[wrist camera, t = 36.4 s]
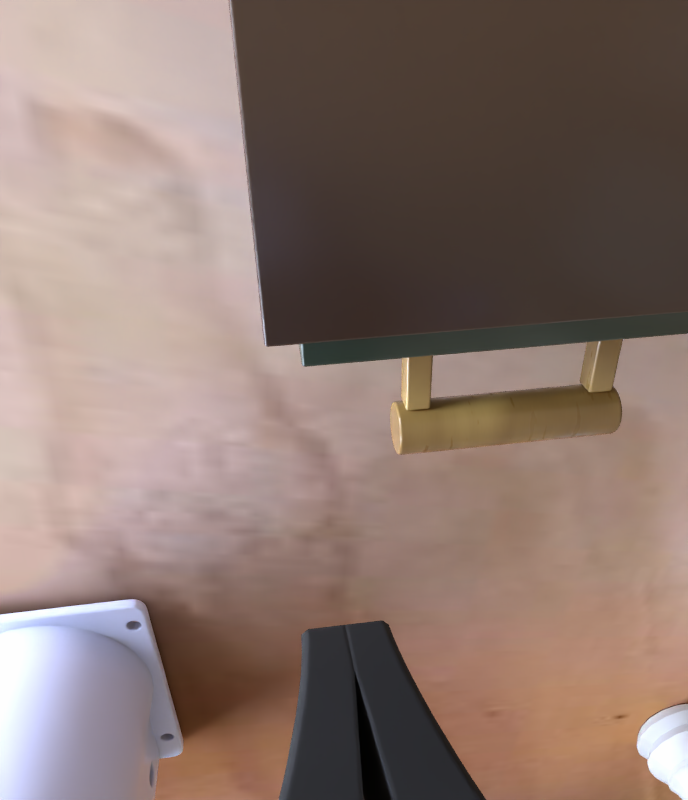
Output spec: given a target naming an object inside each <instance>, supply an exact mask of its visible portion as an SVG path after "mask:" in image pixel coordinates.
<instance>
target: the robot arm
mask: <svg viewBox="0 0 688 800" xmlns="http://www.w3.org/2000/svg"><path fill="white" fill-rule="evenodd" d="M133 621H138V622H133ZM301 640H302V664H301V679H300V688H299V696H298V704H297V711H296V718H295V723H294V729H293V734H292V739H291V745H290V750H289V756H288V761H287V766H286V771H285V775H284V780H283V784H282V788H281V792H280V796H279V800H486V799H485V797H484V796H483V794H482V793H481V791H480V790H479V788H478V787H477V785H476V784H475V782H474V781H473V780H472V778H471V776H470V775H469V773H468V772H467V770H466V769H465V767H464V765H463V764H462V762H461V761H460V759H459V758H458V756H457V754H456V753H455V751H454V749H453V748H452V746H451V744H450V743H449V741H448V740H447V738H446V736H445V735H444V733H443V731H442V730H441V728H440V726H439V725H438V723H437V721H436V720H435V718H434V716H433V714H432V713H431V711H430V709H429V707H428V706H427V704H426V702H425V700H424V698H423V697H422V695H421V693H420V691H419V689H418V687H417V685H416V683H415V681H414V680H413V678H412V676H411V674H410V672H409V670H408V668H407V666H406V664H405V662H404V660H403V657H402V655H401V653H400V651H399V649H398V647H397V644H396V642H395V640H394V637H393V635H392V632H391V630H390V627H389V625H388V624H387V623H385V622H384V621H374V622H366V623H357V624H349V625H340V626H332V627H323V628H315V629H308V630H307V631H305V632H304V633H303V634H302V635H301ZM183 743H184V741H183V737H182V733H181V730H180V726H179V723H178V719H177V715H176V712H175V708H174V704H173V701H172V697H171V694H170V690H169V686H168V683H167V679H166V675H165V672H164V668H163V665H162V661H161V657H160V654H159V650H158V646H157V643H156V639H155V636H154V632H153V628H152V625H151V621H150V617H149V614H148V610H147V607H146V605H145V604H144V603H143V602H142V601H140V600H136V599H127V600H119V601H110V602H102V603H93V604H85V605H76V606H68V607H59V608H51V609H43V610H34V611H26V612H17V613H9V614H0V800H155V791H156V783H157V774H158V765H159V759H160V758H167V757H173V756H177V755H179V754H180V753H181V752H182V751H183Z"/></svg>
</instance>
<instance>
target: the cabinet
mask: <svg viewBox="0 0 688 800" xmlns="http://www.w3.org/2000/svg"><path fill="white" fill-rule="evenodd" d="M229 8H230V18H231V27H232V37H233V47H234V56H235V66H236V76H237V85H238V95H239V105H240V114H241V124H242V133H243V143H244V153H245V162H246V172H247V182H248V191H249V201H250V211H251V220H252V230H253V239H254V249H255V259H256V268H257V278H258V288H259V297H260V307H261V317H262V326H263V336H264V344H265V346H268V347H269V346H281V345H293V344H305V343H317V342H329V341H341V340H353V339H365V338H377V337H389V336H401V335H413V334H426V333H438V332H450V331H462V330H474V329H486V328H498V327H510V326H522V325H534V324H546V323H558V322H570V321H582V320H594V319H606V318H618V317H630V316H642V315H654V314H666V313H678V312H688V0H229Z"/></svg>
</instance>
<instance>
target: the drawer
mask: <svg viewBox="0 0 688 800" xmlns="http://www.w3.org/2000/svg"><path fill="white" fill-rule="evenodd" d="M687 333H688V312H678V313H666V314H654V315H642V316H630V317H618V318H606V319H594V320H582V321H570V322H558V323H546V324H534V325H522V326H510V327H498V328H486V329H474V330H462V331H450V332H438V333H426V334H413V335H401V336H389V337H377V338H365V339H353V340H341V341H329V342H317V343H305V344H299V348H300V355H301V361H302V365H303V366H305V367H306V366H317V365H329V364H340V363H352V362H364V361H375V360H387V359H398V358H402V390H401V398H402V401H398V402H394V403H392V406H391V411H390V424H391V434H392V440H393V445H394V448H395V450H396V452H397V454H399V455H404V454H414V453H424V452H434V451H444V450H454V449H464V448H473V447H483V446H493V445H503V444H513V443H523V442H533V441H543V440H552V439H562V438H572V437H582V436H592V435H602V434H611V433H613V432H615V431H616V430H617V429H618V428H619V426H620V423H621V419H622V406H621V401H620V397H619V394H618V392H617V390H616V389H615V388H614V386H613V382H614V377H615V373H616V368H617V364H618V359H619V355H620V350H621V346H622V341H623V339H629V338H641V337H652V336H664V335H675V334H687ZM583 342H587V344H586V350H585V355H584V360H583V366H582V371H581V376H580V383H581V384H580V385H569V386H559V387H548V388H537V389H526V390H516V391H505V392H494V393H484V394H473V395H462V396H451V397H441V398H431V382H432V362H433V355H444V354H456V353H467V352H479V351H491V350H502V349H514V348H525V347H537V346H548V345H560V344H571V343H583Z"/></svg>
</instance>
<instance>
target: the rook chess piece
mask: <svg viewBox="0 0 688 800" xmlns="http://www.w3.org/2000/svg"><path fill="white" fill-rule="evenodd" d="M637 749H638V752H639V754H640V755H641V756H643V757H644V758H646V759H648V762H647V764H648V767H649V770H650V772H651V773H652V774H653V775H654V776H655V777H656V778H657V779H659V780H660V781H662V782H664V783H666V784H668V785H669V788H670V790H671V791H673V792H674V793H676V794H678V795H679V796H680V798H681V799H682V800H688V704H682V705H676V706H673V707H670V708H668V709H665V710H662V711H660V712H659V713H657V714H656V715H654V716H652V717H651V718H649V719H648V720H647V722H646V723H645V724H644V725H643V726H642V727H641V729H640V732H639V734H638V740H637Z"/></svg>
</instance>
